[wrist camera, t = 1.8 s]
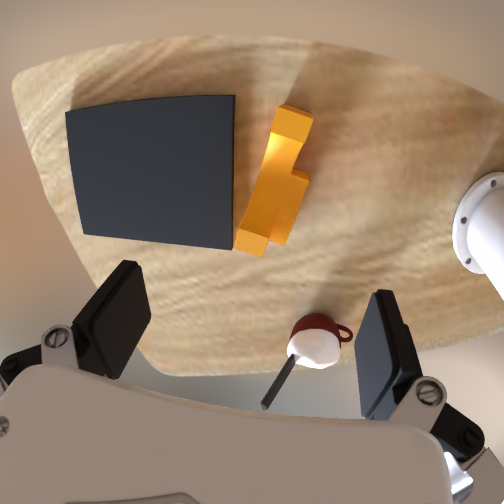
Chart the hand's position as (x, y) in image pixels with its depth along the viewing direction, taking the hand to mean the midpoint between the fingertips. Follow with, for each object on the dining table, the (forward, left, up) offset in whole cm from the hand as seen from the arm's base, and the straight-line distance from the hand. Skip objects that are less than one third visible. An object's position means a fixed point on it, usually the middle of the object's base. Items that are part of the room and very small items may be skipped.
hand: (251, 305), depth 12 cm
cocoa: (-5, +19, -19) cm, 27 cm away
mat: (+15, +1, -19) cm, 24 cm away
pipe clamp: (0, 0, -19) cm, 19 cm away
